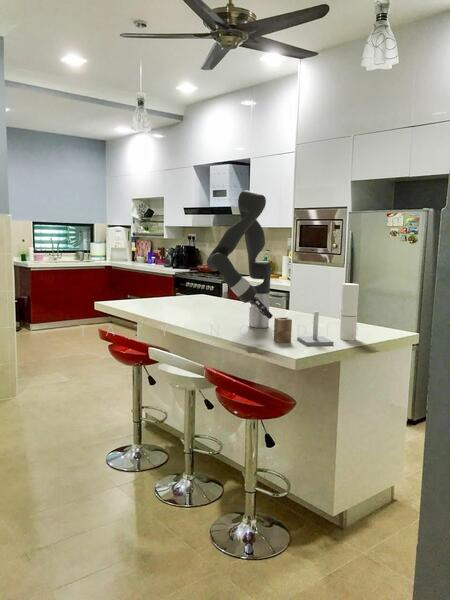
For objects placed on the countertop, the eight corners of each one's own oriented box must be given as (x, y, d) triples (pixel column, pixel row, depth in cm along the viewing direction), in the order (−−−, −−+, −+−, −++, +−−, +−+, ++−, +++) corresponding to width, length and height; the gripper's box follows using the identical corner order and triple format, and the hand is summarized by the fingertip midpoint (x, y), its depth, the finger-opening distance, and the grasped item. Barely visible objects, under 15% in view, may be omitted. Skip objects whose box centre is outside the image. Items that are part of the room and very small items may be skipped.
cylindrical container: (353, 337, 226) (356, 283, 222) (357, 340, 219) (361, 285, 215) (337, 337, 225) (340, 283, 222) (342, 340, 218) (345, 284, 215)
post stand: (306, 345, 205) (308, 314, 204) (297, 339, 217) (298, 309, 215) (333, 345, 208) (335, 314, 206) (322, 339, 219) (324, 309, 218)
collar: (277, 342, 210) (278, 319, 209) (273, 339, 216) (274, 317, 215) (290, 342, 212) (291, 319, 210) (286, 339, 217) (287, 317, 216)
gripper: (253, 285, 201) (279, 312, 204) (245, 281, 215) (270, 307, 218) (240, 297, 201) (266, 324, 204) (233, 293, 214) (258, 319, 218)
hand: (268, 315), depth 211 cm, fingers open, 8 cm apart
